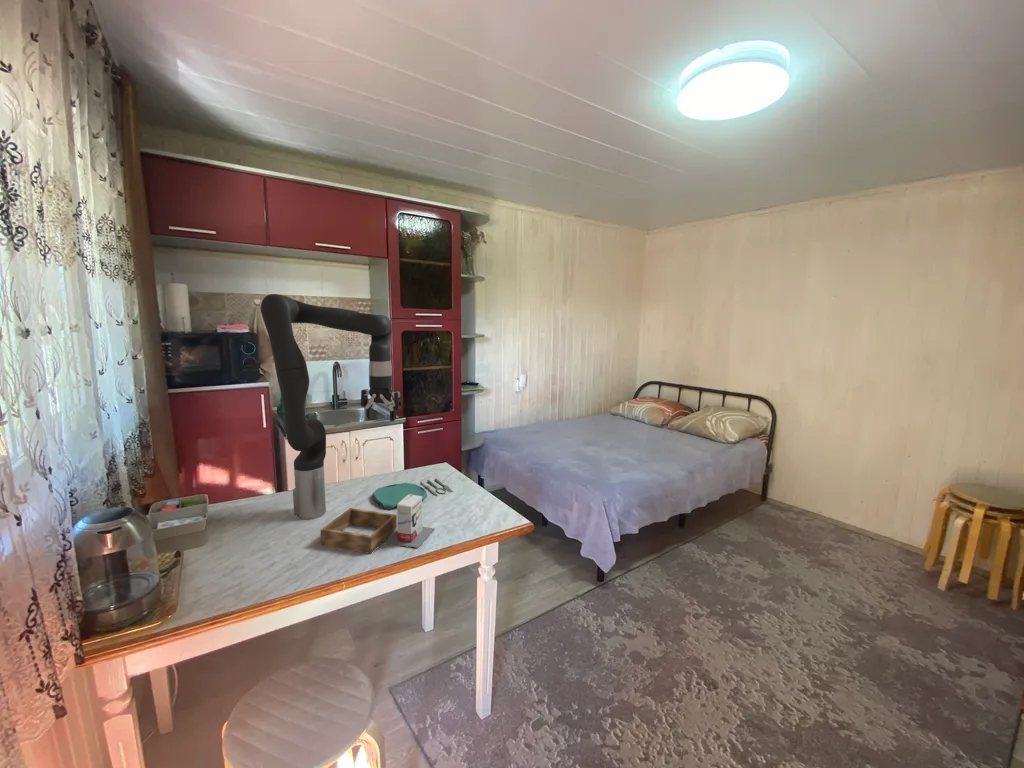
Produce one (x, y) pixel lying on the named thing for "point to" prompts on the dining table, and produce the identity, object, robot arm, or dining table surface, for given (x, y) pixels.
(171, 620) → the dining table surface
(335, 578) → the dining table surface
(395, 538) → the rubber mat
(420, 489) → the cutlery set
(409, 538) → the ink box
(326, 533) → the wooden tray
